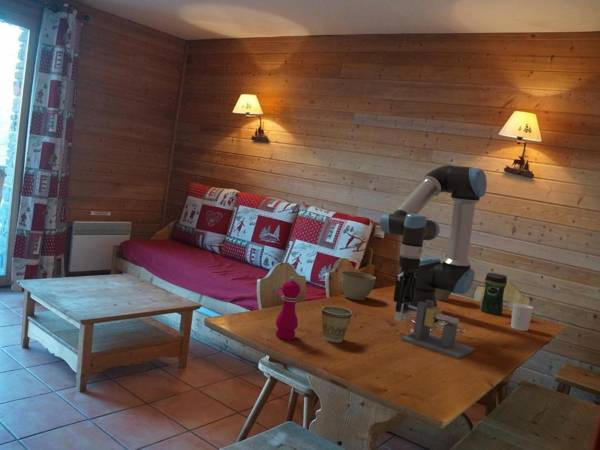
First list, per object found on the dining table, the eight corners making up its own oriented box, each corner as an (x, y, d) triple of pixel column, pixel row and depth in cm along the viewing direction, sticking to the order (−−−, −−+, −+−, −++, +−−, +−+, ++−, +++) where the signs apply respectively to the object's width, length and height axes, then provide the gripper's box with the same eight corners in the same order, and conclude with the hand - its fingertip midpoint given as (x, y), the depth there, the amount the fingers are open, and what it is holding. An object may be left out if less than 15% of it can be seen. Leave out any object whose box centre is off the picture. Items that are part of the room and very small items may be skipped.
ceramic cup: (327, 345, 170) (331, 314, 169) (312, 334, 179) (316, 306, 178) (361, 343, 176) (365, 314, 175) (345, 333, 185) (349, 305, 184)
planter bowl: (364, 304, 232) (368, 280, 231) (331, 296, 240) (335, 273, 239) (378, 299, 246) (381, 276, 245) (346, 291, 254) (349, 269, 253)
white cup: (531, 332, 220) (535, 309, 219) (511, 329, 221) (515, 306, 220) (526, 327, 228) (530, 305, 227) (507, 324, 229) (511, 302, 228)
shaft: (395, 311, 193) (397, 300, 192) (400, 310, 196) (402, 299, 196) (454, 328, 179) (456, 317, 179) (459, 327, 182) (460, 315, 182)
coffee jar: (503, 313, 250) (509, 275, 248) (499, 316, 243) (506, 276, 241) (482, 308, 255) (488, 270, 253) (478, 311, 248) (484, 272, 246)
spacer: (423, 324, 185) (426, 308, 184) (431, 322, 189) (433, 306, 189) (431, 327, 183) (434, 310, 182) (439, 324, 188) (441, 308, 187)
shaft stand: (401, 339, 186) (406, 301, 185) (419, 333, 197) (424, 296, 195) (458, 358, 173) (465, 317, 172) (474, 351, 184) (480, 311, 182)
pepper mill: (273, 331, 177) (281, 273, 175) (295, 333, 177) (302, 275, 175) (274, 338, 169) (282, 277, 167) (296, 340, 170) (304, 280, 168)
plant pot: (456, 299, 269) (461, 268, 267) (452, 304, 255) (457, 272, 254) (427, 293, 275) (431, 263, 273) (421, 298, 261) (426, 266, 259)
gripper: (408, 260, 182) (398, 325, 185) (429, 257, 196) (420, 319, 198) (389, 255, 187) (380, 319, 189) (411, 253, 200) (402, 313, 203)
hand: (400, 319), depth 194 cm, fingers closed on shaft, 4 cm apart
